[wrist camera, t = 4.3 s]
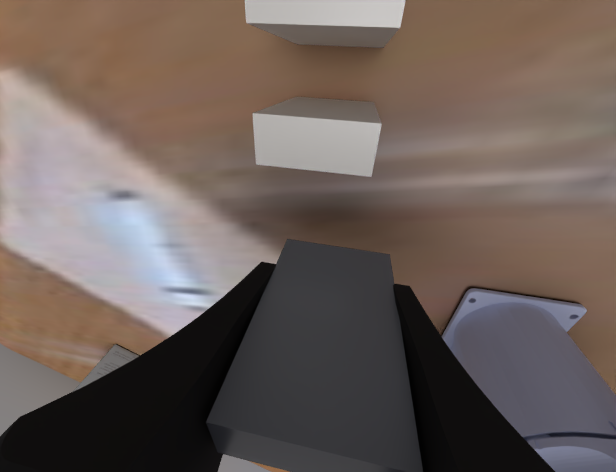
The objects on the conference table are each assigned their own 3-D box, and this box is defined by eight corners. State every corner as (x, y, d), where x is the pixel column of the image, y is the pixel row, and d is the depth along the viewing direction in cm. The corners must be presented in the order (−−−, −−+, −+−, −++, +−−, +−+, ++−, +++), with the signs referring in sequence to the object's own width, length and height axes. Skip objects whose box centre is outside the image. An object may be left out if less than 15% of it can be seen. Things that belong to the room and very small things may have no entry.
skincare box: (109, 358, 38) (62, 412, 32) (115, 342, 35) (64, 399, 29) (146, 376, 40) (107, 431, 34) (156, 362, 36) (114, 420, 30)
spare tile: (380, 285, 12) (398, 499, 6) (286, 269, 12) (217, 452, 6) (389, 254, 11) (423, 475, 5) (287, 238, 11) (206, 422, 5)
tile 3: (383, 48, 13) (400, 27, 7) (297, 44, 13) (246, 22, 7) (391, -1, 12) (419, -73, 6) (298, -3, 12) (239, -69, 6)
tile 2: (368, 136, 15) (371, 176, 9) (295, 129, 15) (256, 164, 10) (374, 102, 14) (381, 123, 8) (296, 96, 14) (252, 113, 9)
